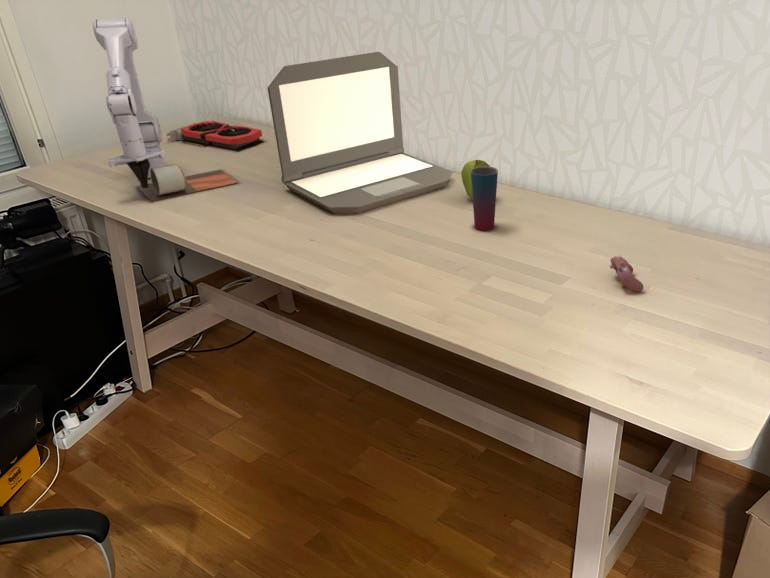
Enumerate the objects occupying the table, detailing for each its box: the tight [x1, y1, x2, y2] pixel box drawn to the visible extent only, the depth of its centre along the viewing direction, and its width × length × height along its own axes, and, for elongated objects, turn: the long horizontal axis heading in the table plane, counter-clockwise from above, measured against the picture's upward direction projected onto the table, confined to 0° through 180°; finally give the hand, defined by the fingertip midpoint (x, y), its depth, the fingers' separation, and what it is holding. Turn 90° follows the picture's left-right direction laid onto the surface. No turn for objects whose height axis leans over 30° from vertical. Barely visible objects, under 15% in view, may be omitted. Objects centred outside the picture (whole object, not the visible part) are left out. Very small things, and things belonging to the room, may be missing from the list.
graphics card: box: [165, 120, 265, 152], centre depth 244 cm, size 20×32×4 cm, turn 57°
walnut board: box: [137, 169, 238, 203], centre depth 208 cm, size 15×25×1 cm, turn 126°
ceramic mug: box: [150, 165, 187, 195], centre depth 201 cm, size 11×8×8 cm
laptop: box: [267, 51, 454, 215], centre depth 196 cm, size 43×31×34 cm
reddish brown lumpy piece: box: [609, 254, 644, 293], centre depth 152 cm, size 10×5×7 cm, turn 5°
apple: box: [461, 159, 491, 201], centre depth 193 cm, size 9×8×12 cm
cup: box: [471, 165, 499, 232], centre depth 176 cm, size 7×7×15 cm
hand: (144, 186), depth 198 cm, fingers closed
